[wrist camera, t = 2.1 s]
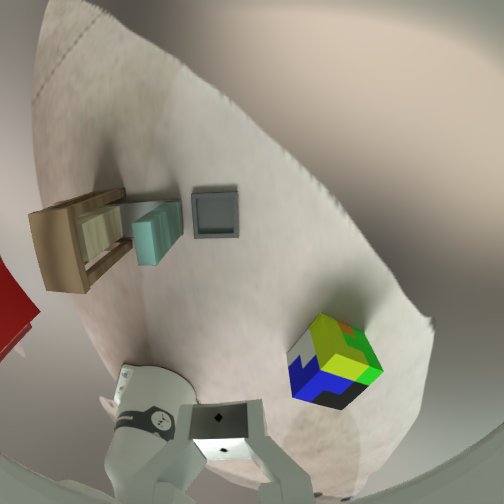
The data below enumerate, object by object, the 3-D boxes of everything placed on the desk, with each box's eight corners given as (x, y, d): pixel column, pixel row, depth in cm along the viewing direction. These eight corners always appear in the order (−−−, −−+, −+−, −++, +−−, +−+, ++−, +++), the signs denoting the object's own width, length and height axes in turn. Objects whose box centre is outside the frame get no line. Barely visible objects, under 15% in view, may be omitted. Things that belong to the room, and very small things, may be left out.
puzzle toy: (286, 354, 45) (292, 397, 35) (320, 312, 41) (335, 353, 32) (329, 370, 46) (341, 410, 37) (363, 332, 43) (383, 371, 34)
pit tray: (237, 191, 35) (237, 192, 34) (239, 235, 37) (238, 237, 36) (192, 193, 35) (191, 194, 34) (195, 236, 37) (194, 238, 36)
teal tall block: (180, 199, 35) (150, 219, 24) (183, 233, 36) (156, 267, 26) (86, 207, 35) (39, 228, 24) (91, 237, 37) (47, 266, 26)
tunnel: (126, 187, 35) (66, 208, 21) (133, 248, 38) (85, 294, 25) (90, 191, 35) (28, 214, 21) (99, 249, 38) (46, 290, 25)
